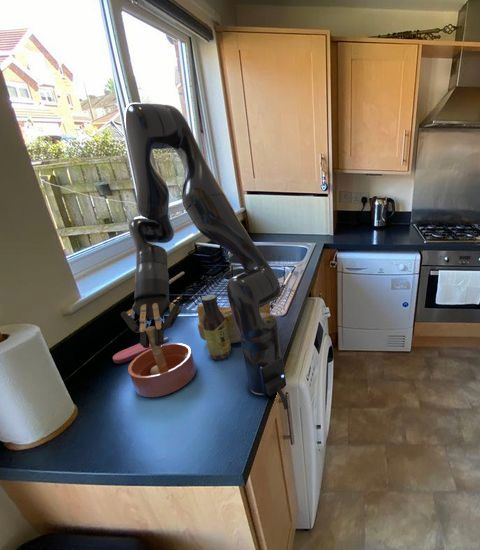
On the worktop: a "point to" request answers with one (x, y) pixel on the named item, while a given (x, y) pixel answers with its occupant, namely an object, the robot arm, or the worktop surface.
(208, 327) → the sauce bottle
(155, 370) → the dough ball
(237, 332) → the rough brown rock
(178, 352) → the mixing bowl
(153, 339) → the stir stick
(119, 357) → the popsicle
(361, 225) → the worktop surface
